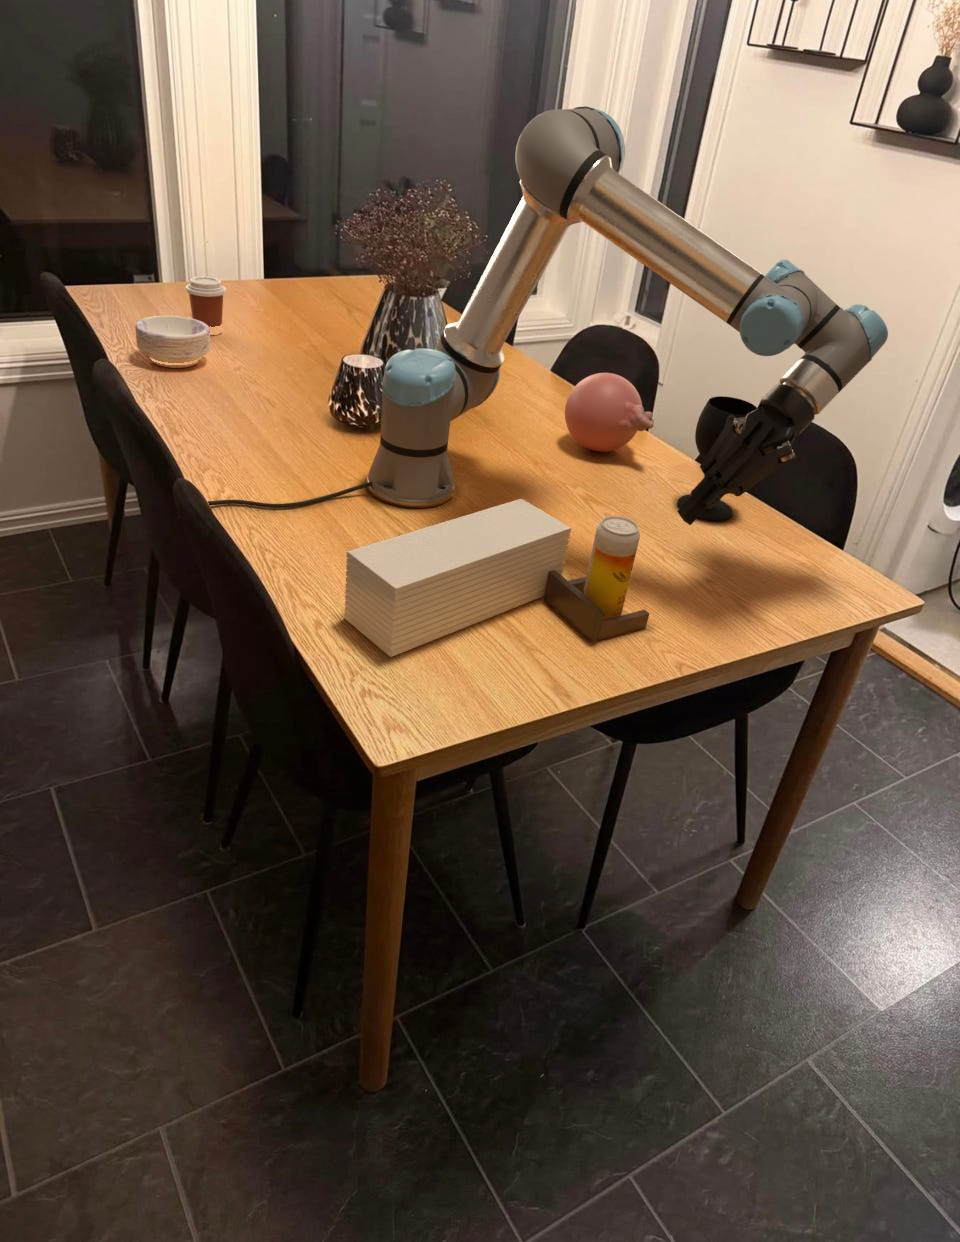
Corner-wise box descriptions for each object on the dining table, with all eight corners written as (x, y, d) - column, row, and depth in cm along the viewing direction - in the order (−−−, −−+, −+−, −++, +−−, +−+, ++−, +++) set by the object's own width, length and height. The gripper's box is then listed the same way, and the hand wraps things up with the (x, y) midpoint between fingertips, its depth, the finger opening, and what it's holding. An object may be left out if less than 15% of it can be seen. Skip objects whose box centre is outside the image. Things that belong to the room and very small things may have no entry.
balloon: (612, 479, 176) (629, 402, 168) (543, 440, 189) (555, 367, 180) (666, 465, 185) (684, 391, 177) (596, 428, 197) (610, 358, 189)
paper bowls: (226, 363, 205) (224, 327, 200) (172, 378, 194) (170, 341, 189) (177, 345, 211) (174, 310, 206) (123, 359, 200) (119, 322, 195)
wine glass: (735, 504, 173) (765, 403, 162) (729, 527, 165) (761, 422, 154) (681, 491, 176) (707, 390, 165) (672, 513, 167) (699, 408, 156)
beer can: (622, 628, 133) (643, 537, 125) (580, 623, 133) (599, 532, 125) (618, 606, 138) (639, 517, 130) (578, 601, 138) (596, 512, 130)
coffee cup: (222, 339, 217) (220, 287, 211) (183, 335, 217) (180, 282, 210) (231, 328, 225) (229, 277, 218) (193, 324, 224) (190, 273, 218)
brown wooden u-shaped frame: (597, 586, 142) (603, 558, 140) (646, 627, 134) (653, 598, 132) (543, 599, 138) (548, 571, 135) (590, 642, 130) (597, 613, 127)
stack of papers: (512, 559, 147) (521, 498, 141) (559, 590, 140) (571, 527, 134) (344, 618, 127) (346, 551, 122) (390, 657, 121) (395, 588, 115)
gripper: (837, 432, 132) (722, 552, 134) (771, 399, 141) (664, 511, 142) (824, 400, 127) (705, 525, 128) (757, 367, 136) (645, 485, 137)
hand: (683, 518), depth 135 cm, fingers closed
